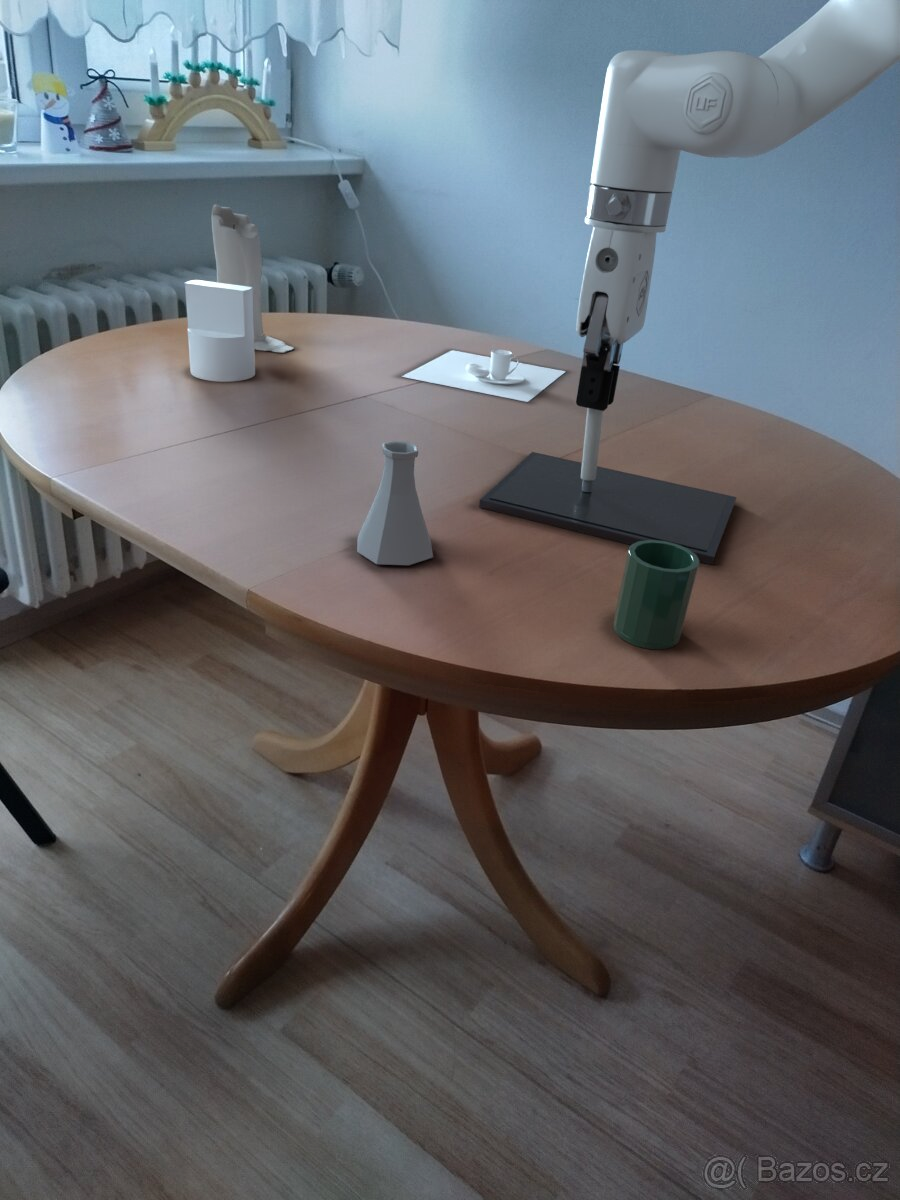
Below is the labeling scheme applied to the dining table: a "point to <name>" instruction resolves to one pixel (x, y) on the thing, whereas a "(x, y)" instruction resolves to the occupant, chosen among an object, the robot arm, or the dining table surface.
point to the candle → (242, 265)
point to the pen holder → (655, 593)
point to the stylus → (591, 448)
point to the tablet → (613, 505)
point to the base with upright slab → (220, 331)
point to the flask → (396, 513)
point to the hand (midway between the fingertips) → (594, 403)
